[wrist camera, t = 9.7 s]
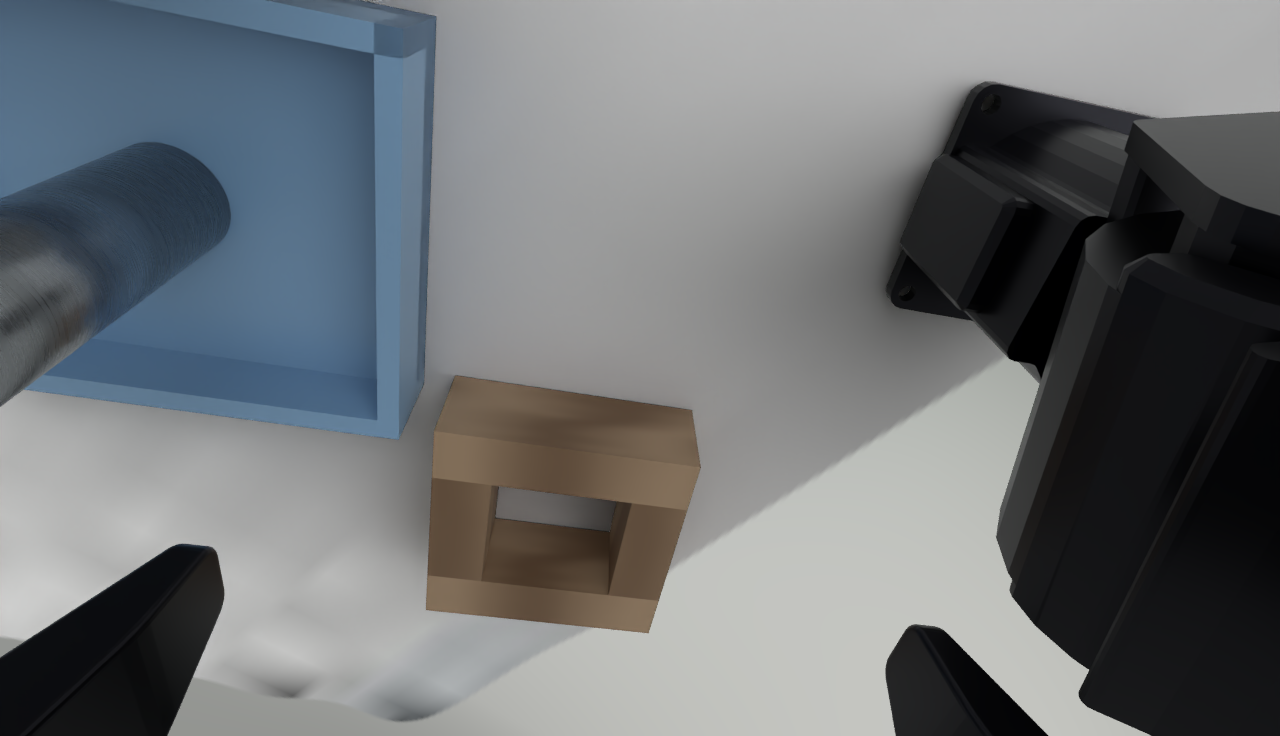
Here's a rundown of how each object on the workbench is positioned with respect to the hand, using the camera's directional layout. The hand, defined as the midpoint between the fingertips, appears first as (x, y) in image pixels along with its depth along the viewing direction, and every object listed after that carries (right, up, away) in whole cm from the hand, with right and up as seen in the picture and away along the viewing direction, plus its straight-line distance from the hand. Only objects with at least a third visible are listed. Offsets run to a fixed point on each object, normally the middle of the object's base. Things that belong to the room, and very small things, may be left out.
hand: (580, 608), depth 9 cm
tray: (-12, +8, +10) cm, 17 cm away
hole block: (-2, -1, +16) cm, 16 cm away
